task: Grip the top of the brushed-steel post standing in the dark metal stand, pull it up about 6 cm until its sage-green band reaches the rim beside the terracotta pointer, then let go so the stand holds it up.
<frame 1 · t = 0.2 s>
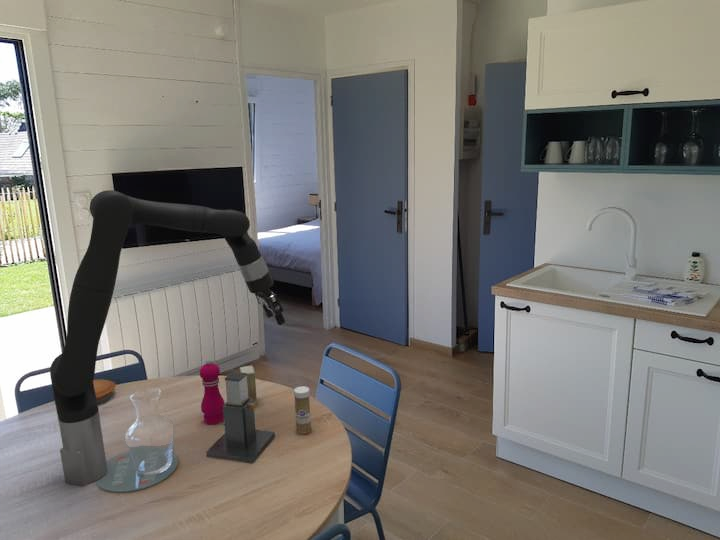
hand: (276, 319, 165), 31 cm above the table, tool tilted 20°, fingers open, 8 cm apart
pepper mill: (214, 420, 169), on the table
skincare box: (249, 404, 179), on the table
pie: (92, 399, 186), on the table
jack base: (241, 446, 154), on the table
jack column: (238, 409, 151), point 12 cm above the table, slide at 0.0 cm
sprinkles bottle: (303, 431, 161), on the table
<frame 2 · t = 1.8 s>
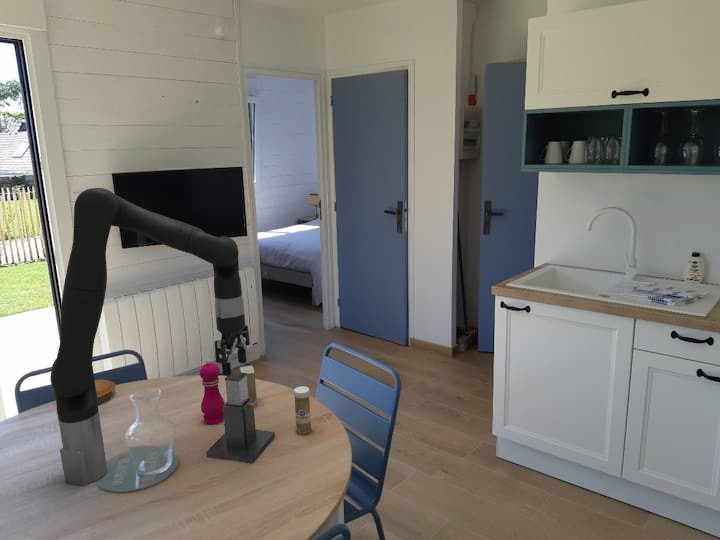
hand: (235, 368, 148), 24 cm above the table, tool pointing down, fingers open, 8 cm apart
nothing on the table moved.
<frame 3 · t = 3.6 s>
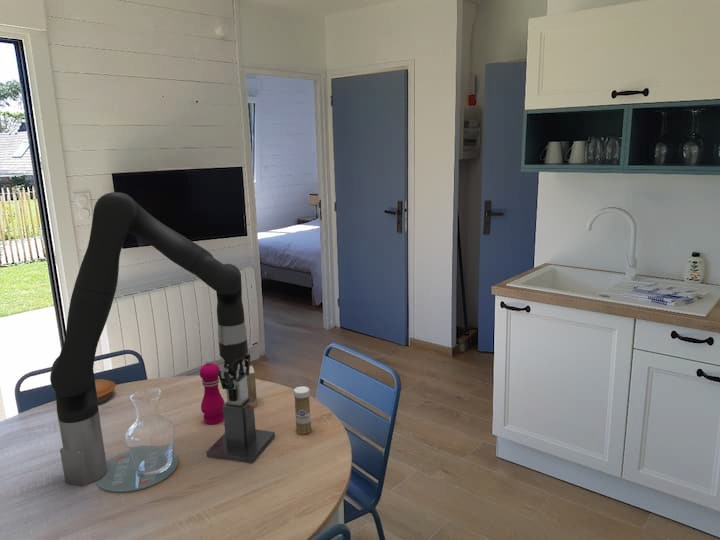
hand: (237, 396, 150), 15 cm above the table, tool pointing down, fingers closed on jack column, 4 cm apart
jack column: (238, 409, 151), point 11 cm above the table, slide at 0.0 cm, touching gripper, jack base
everything else where it was.
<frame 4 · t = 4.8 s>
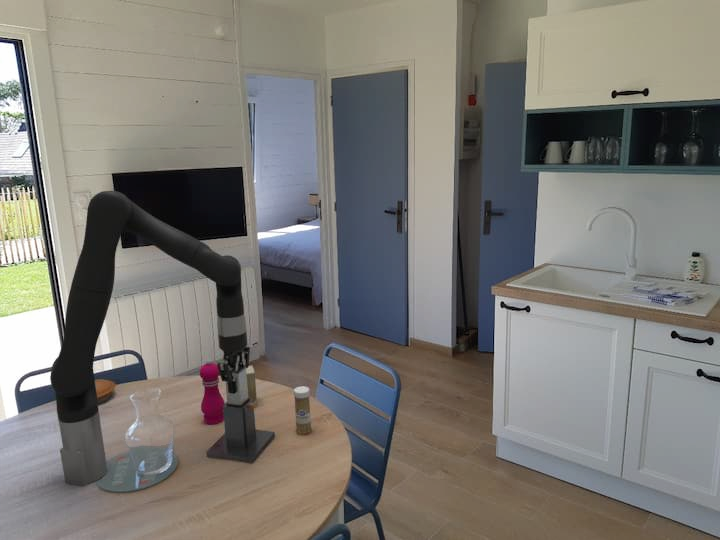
hand: (236, 389, 150), 18 cm above the table, tool pointing down, fingers closed on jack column, 4 cm apart
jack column: (238, 401, 151), point 14 cm above the table, slide at 2.3 cm, touching gripper
everything else where it was.
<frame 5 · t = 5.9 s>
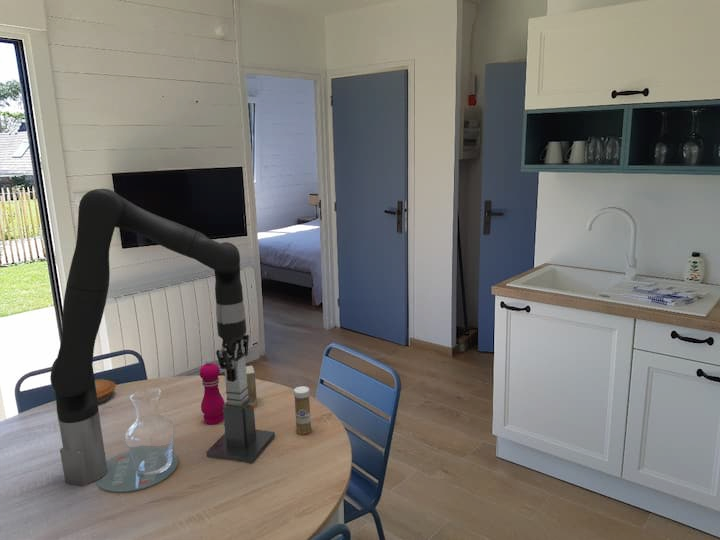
hand: (235, 377, 149), 21 cm above the table, tool pointing down, fingers closed on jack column, 4 cm apart
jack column: (237, 389, 150), point 17 cm above the table, slide at 5.8 cm, touching gripper
everything else where it was.
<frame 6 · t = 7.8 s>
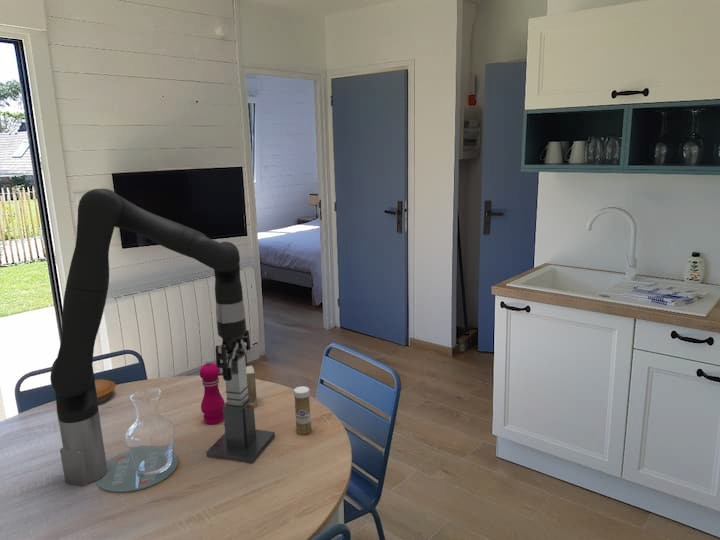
hand: (235, 373, 149), 22 cm above the table, tool pointing down, fingers open, 8 cm apart
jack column: (237, 389, 150), point 17 cm above the table, slide at 5.9 cm
everything else where it was.
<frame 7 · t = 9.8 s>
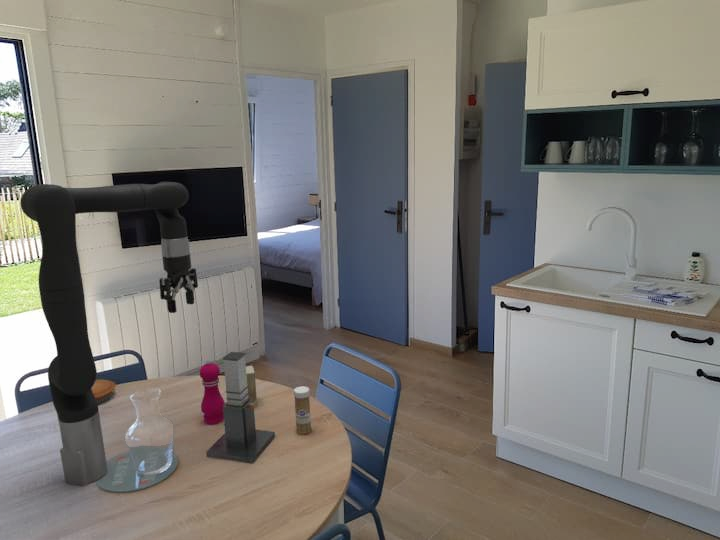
hand: (181, 308, 157), 38 cm above the table, tool pointing down, fingers open, 8 cm apart
nothing on the table moved.
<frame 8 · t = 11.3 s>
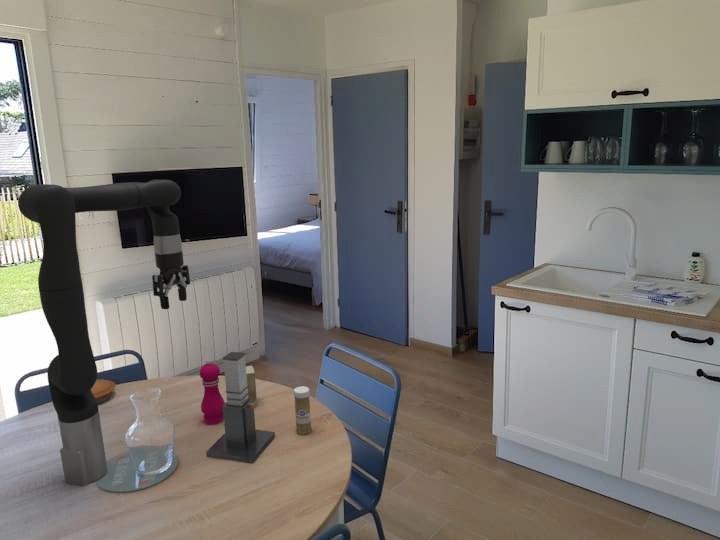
hand: (174, 304, 159), 38 cm above the table, tool pointing down, fingers open, 8 cm apart
nothing on the table moved.
at the end: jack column slide at 5.9 cm; the gripper is holding nothing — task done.
